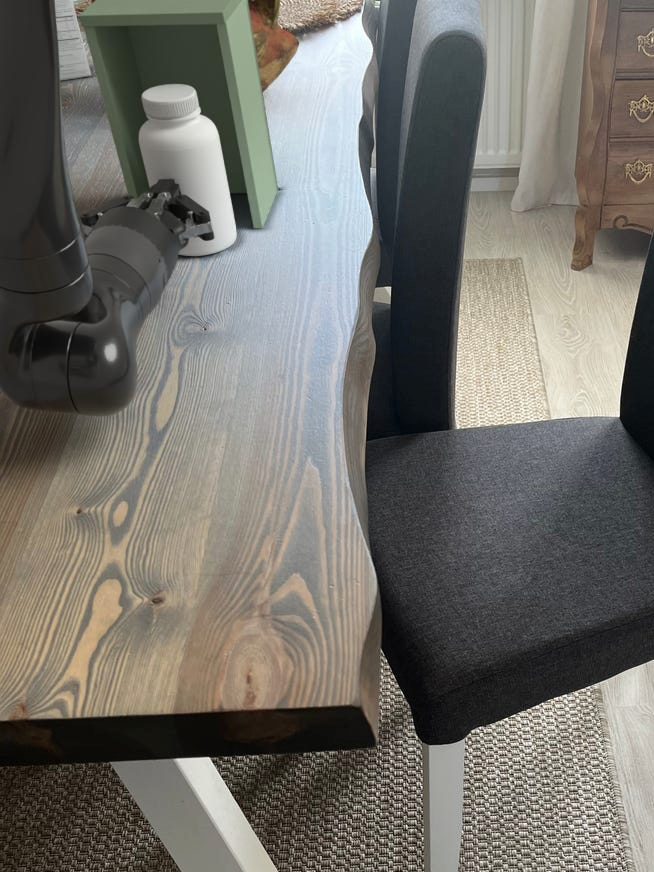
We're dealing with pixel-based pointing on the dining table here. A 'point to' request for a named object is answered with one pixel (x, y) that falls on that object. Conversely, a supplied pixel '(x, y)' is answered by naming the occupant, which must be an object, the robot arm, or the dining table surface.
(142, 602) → the dining table surface
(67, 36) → the syrup box
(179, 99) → the pill bottle
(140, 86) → the cabinet
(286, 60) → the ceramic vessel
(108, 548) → the dining table surface
